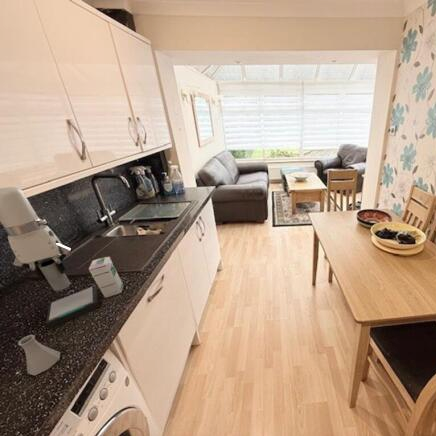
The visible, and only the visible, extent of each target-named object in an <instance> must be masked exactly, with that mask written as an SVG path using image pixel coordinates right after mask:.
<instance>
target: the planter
mask: <svg viewBox="0 0 436 436" xmlns="http://www.w3.org/2000/svg"><path fill="white" fill-rule="evenodd" d="M56 264H57V263H56V262H55V261H54V260H53V259H52V258H51V259H48V260H45V261H42V262H40V264H39V266H38V267H39V268H40V270H41V271H42V273H43V274H44V276H45V279H46V280H47V282H48V284H49V285H50V287H51V288H52V290H53V291H55V292H59V291H63V290H66V289H67V288H69V287H70V285H71V281H70V280H69V278H68V276H67V274H66V272H65V273H63V274H61V273H60V271H59V269H58V268H57V266H56Z"/></svg>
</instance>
